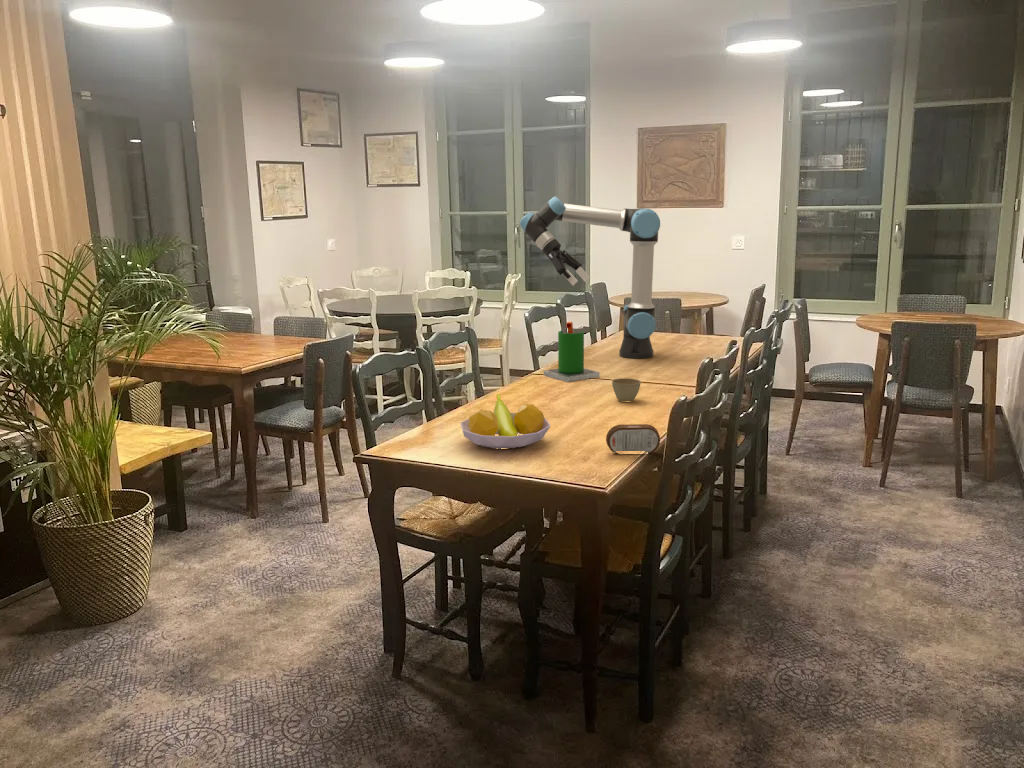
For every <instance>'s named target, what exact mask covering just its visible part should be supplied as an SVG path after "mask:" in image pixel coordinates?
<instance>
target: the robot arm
mask: <svg viewBox="0 0 1024 768" xmlns="http://www.w3.org/2000/svg"><path fill="white" fill-rule="evenodd" d="M555 221H557V222H558V221H560V222H569V223H574V224H575V223H576V224H582V225H583V224H584V225H592V226H600V227H607V228H616V229H619V230H620V231H622V232H627V233H629V242H630V243H631V244H632V246H633V247H632V249H633V250H632V272H631V273H632V274H631V293H630V294H631V297H630V299H631V300H630V303H629V304H625V305H624V306H623V337H622V342H621V346H620V349H619V356H620V357H621V358H627V359H648V358H652V357H654V349H653V345H652V342H651V339H650V338H651V336H652V334H653V333H654V332H655V330H656V326H657V323H656V319H655V316H656V306H655V304H653V301H652V299H653V298H652V297H653V279H654V278H653V277H654V276H653V274H654V251H655V245H656V244H657V243H659V241H658V240H659V231H660V229H661V219H660V217H659V215H658V213H657V212H656V211H655V210H654V209H650V208H647V207H646V208H640V207H639V208H623V209H615V208H605V207H596V206H588V205H580V204H573V203H571V204H570V203H566V202H565V203H563V202H562V201H561V200H560V198H558V196H553V197H552V198H551V199H549V200H548V201H547V202H545V203H544V204H543V205H542V207H541V208H540V209H538V211H537V212H536V213H533V212H528V213H527V214H525V215H523V217H522V218H521V219H520V221H519V226H520V228H521V229H522V231H524V233H525V234H526V235H527V236H528V237H529V238H530V239H531V240H532V241H533V243H535V244H536V247H537V248H539V249H540V250H542V253H543V254H544V255H545V256H546V257H547V258H548V259H549V260H550V262H551V263H552V265H553V267H554V268H555V270H556V272H557V273H558V275H560V276H562V275H563V277H564V278H565V279H566V280H567V281H568V282H569V283H570V285H572V286H575V285H576V284H577V282H579V281H578V279H577V278H576V277H575V276H574V275H573V274H572V273H571V272H570V271H569V269H567V268H566V265H568V266H569V267H570V268H572V269H573V270H575V273H576V274H577V275H578V276H579V277H580V278H581V279H582V280H583V282H584V283H588V281H589V280H590V279H591V276H589V275H588V274H587V272H586V271H585V270H584V269H583V268H582V267H583V266H582V263H580V262H579V261H578V260H577V259H575V258H574V257H573V256H572V255H570V254H569V253H568V252H567V251H566V250H565V249H564V250H561V247H562V246H561V243H560V242H559V241H558V239H556V238H555V237H554V235H553V234H552V233H551V232H550V231H549V230H548V229H547V228H548V227H549V226H551V224H552V223H553V222H555ZM565 264H566V265H565Z"/></svg>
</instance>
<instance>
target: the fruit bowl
mask: <svg viewBox="0 0 1024 768" xmlns="http://www.w3.org/2000/svg"><path fill="white" fill-rule="evenodd" d="M460 427H461V430H462V434H463V436H464V438H466V439H467V440H469V441H470V442H471V443H474V444H475V445H479V446H483V447H486V448H489V447H490V449H494V448H498V449H501V448H512V449H516V447H518V448H522V446H524V447H528V446H530V445H532V444H535V443H537V442H539V441H541V440H543V438H544V437H545V435H546V434H547V432H548V431H549V429H550V427H551V424H550V423H549V421H548V420H547V418H546V417H545V416H544V413H543V412H542V411H541V410H540V409H539V408H538V407H537V406H535V404H533V403H532V404H531V403H530V404H529V403H528V404H527V403H526V404H523V405H521V407H520V408H519V409H517V411H516V412H511V411H510V410H509V408H508V407H507V405H506V404H505V402H504V401H503V400H502V399H501V394H499V393H498V394H496V401H495V405H494V410H493V412H492V411H491V410H487V409H480V410H478V411H477V412H475V413H474V414H472V415H470V416H469V417H468V418H467V419H465V420H463V421H461V422H460ZM518 433H519V434H523V435H518V436H517V434H518ZM495 434H498V435H499V436H495ZM527 445H528V446H527ZM498 449H497V450H498Z"/></svg>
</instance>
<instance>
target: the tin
mask: <svg viewBox="0 0 1024 768" xmlns="http://www.w3.org/2000/svg"><path fill="white" fill-rule="evenodd" d="M605 441H606V445H607V447H608V449H609V450H610V451H611V452H612V453H614V452H616V451H645V452H648V453H649V454H648V455H650V454H652V453H654V452H656V451H657V449H658V448H659V446H660V444H661V437H660V434H659V431H658V429H657V428H656V427H655V426H654V425H651V424H646V423H645V424H642V423H641V424H636V423H635V424H616V425H614V426H613V427H610V429H609V430H608V431H607V434H606V436H605Z"/></svg>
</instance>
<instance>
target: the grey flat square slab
mask: <svg viewBox="0 0 1024 768" xmlns="http://www.w3.org/2000/svg"><path fill="white" fill-rule="evenodd" d="M544 375H545V376H544ZM600 375H601V374H600V371H597V370H593V369H589V368H586V367H584V371H583V372H578V373H564V372H560V371H558V368H551V369H545V370H543V376H544V377H548V378H551V379H554V378H555V380H558V381H561V380H562V382H564V381H565V383H571V381H573V382H577V380H579V381H583V380H582V379H585V380H590V379H589V378H591V379H595V378H594V377H597V378H600V377H601V376H600Z"/></svg>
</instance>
